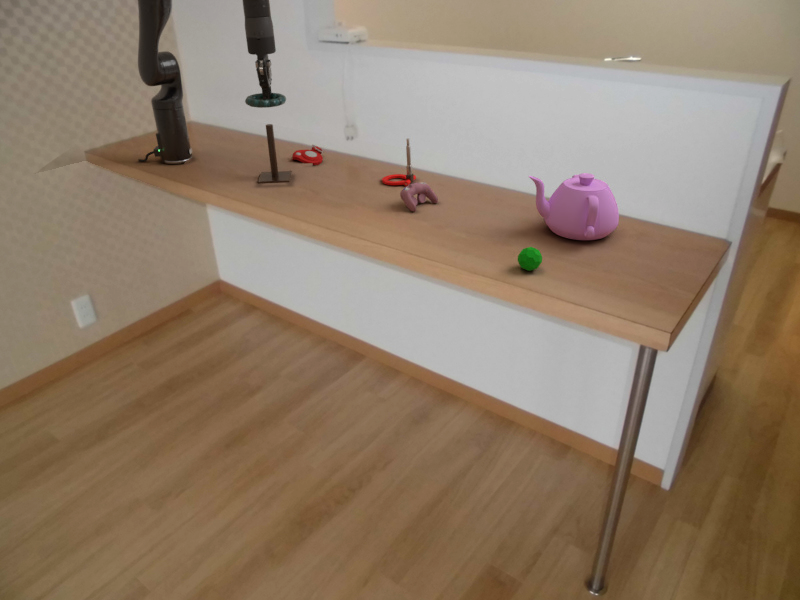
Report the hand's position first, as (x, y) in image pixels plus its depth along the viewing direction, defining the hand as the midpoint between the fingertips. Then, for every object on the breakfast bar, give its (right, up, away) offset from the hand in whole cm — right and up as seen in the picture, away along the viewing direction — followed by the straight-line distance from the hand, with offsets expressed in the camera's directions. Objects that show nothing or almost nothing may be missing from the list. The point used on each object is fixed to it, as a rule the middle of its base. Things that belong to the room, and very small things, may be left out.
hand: (267, 100), depth 175 cm
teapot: (+78, -41, -28) cm, 93 cm away
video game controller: (+43, -32, -12) cm, 55 cm away
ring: (0, -1, -4) cm, 4 cm away
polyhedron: (+65, -51, -45) cm, 94 cm away
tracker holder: (+9, -12, +24) cm, 29 cm away
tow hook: (+37, -23, +5) cm, 44 cm away
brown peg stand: (+1, -22, +7) cm, 23 cm away
